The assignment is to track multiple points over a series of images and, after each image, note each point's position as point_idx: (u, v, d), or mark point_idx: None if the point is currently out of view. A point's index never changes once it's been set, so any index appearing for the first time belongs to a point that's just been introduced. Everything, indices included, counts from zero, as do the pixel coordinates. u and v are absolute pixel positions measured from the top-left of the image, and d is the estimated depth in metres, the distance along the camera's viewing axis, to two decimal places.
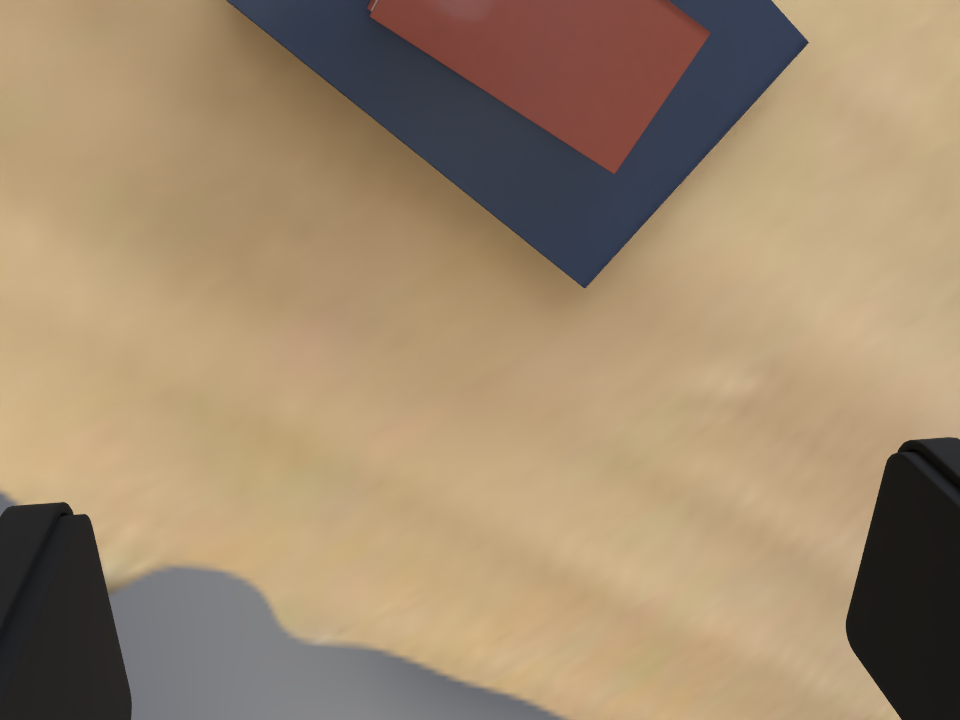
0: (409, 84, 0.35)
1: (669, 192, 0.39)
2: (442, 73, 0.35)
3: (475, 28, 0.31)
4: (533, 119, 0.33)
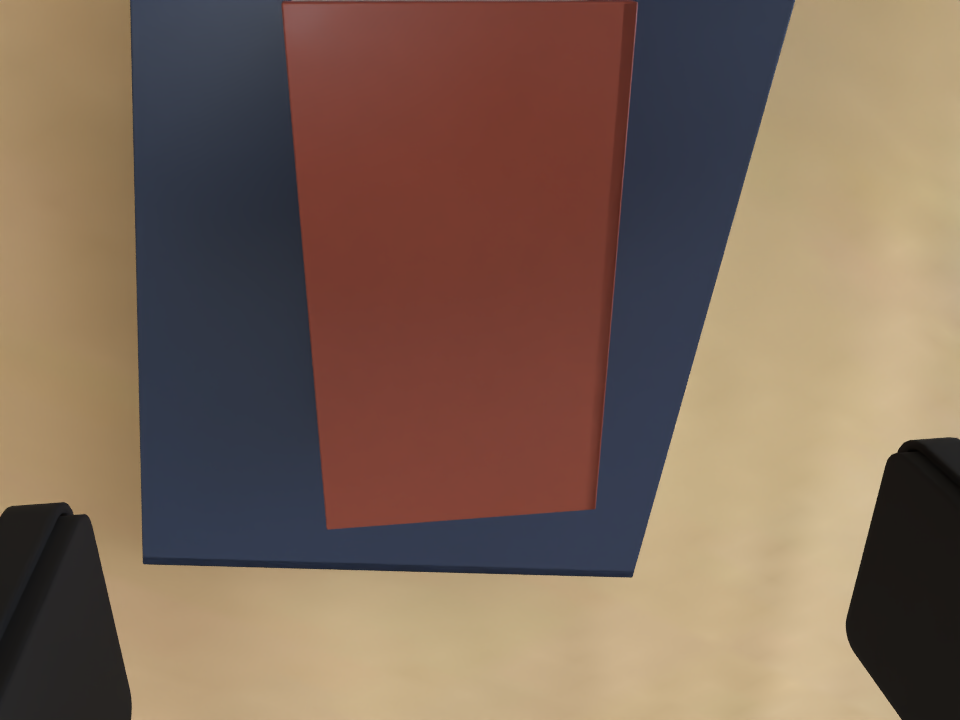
0: (228, 130, 0.19)
1: (354, 567, 0.25)
2: (283, 171, 0.20)
3: (387, 196, 0.16)
4: (317, 371, 0.18)
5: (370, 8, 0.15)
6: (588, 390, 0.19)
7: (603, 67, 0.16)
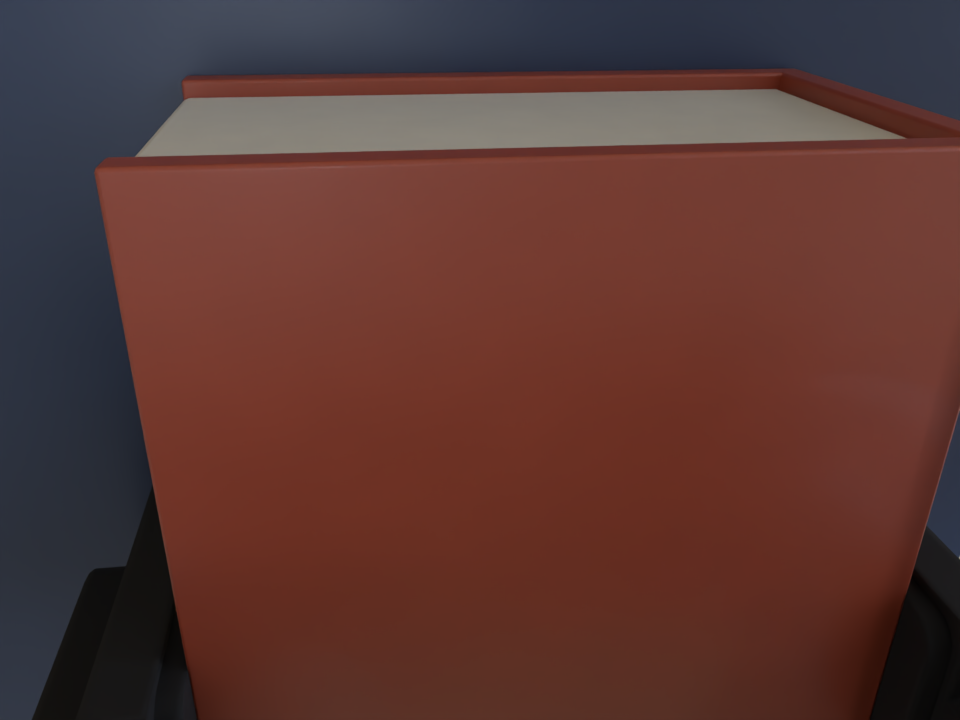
0: (67, 355, 0.09)
1: None
2: None
3: (390, 588, 0.07)
4: None
5: (346, 179, 0.05)
6: None
7: (926, 298, 0.06)
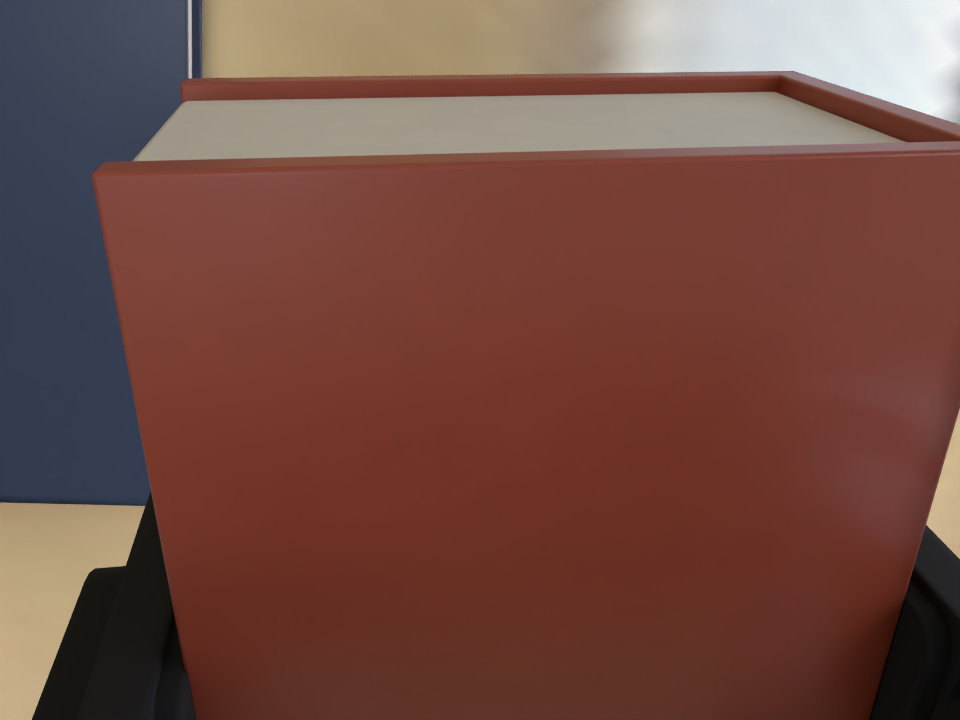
0: None
1: None
2: None
3: (389, 592, 0.07)
4: None
5: (344, 182, 0.05)
6: None
7: (924, 301, 0.06)
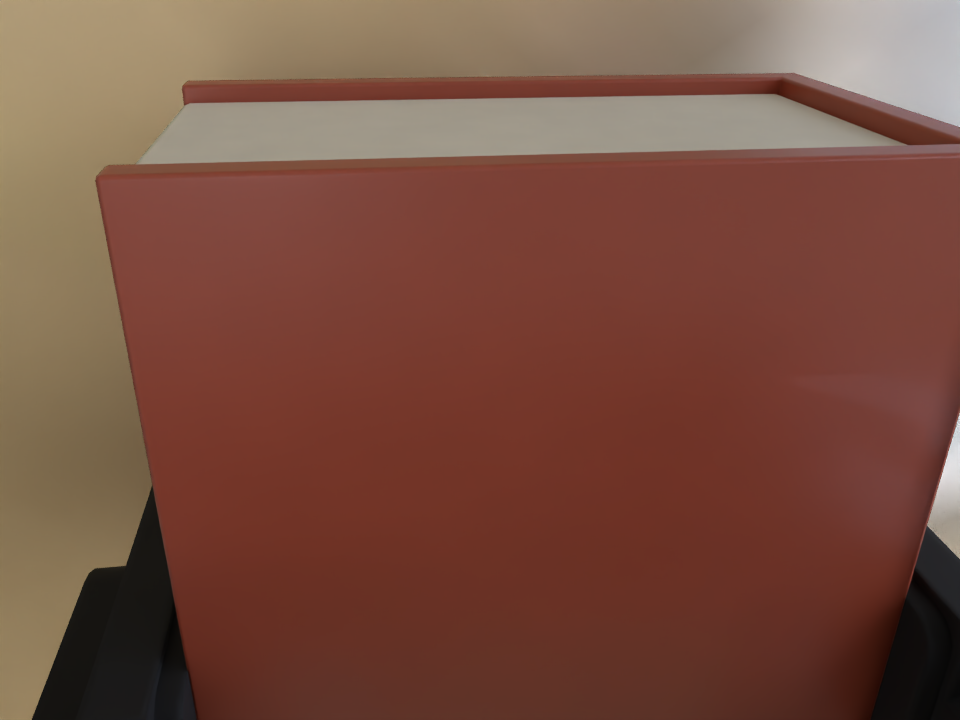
0: None
1: None
2: None
3: (391, 594, 0.07)
4: None
5: (348, 186, 0.05)
6: None
7: (925, 304, 0.06)
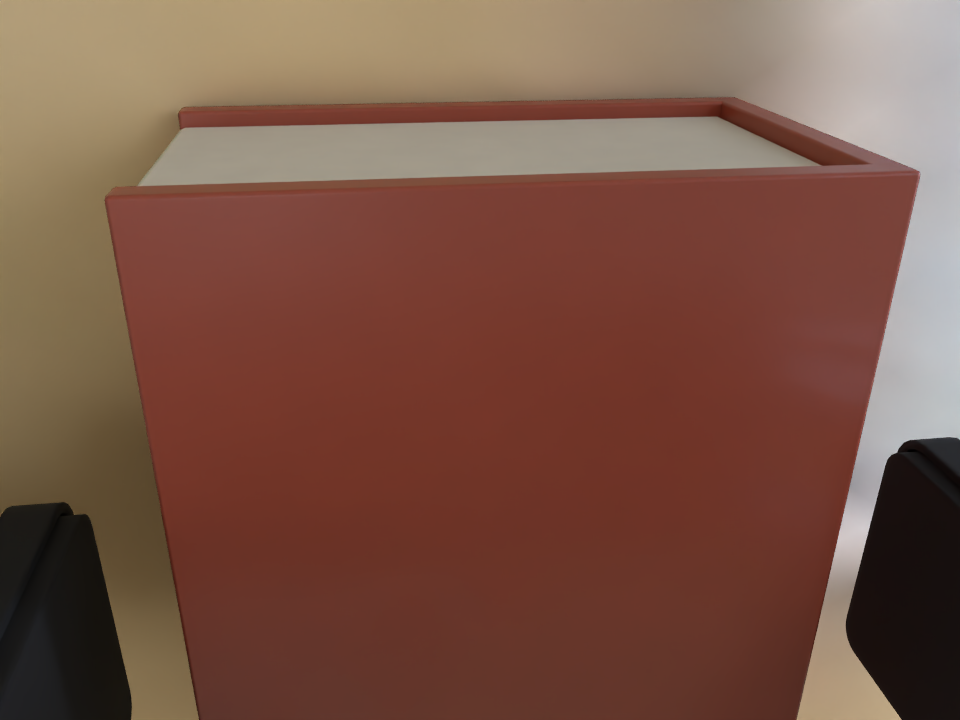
0: None
1: None
2: None
3: (365, 564, 0.08)
4: None
5: (320, 204, 0.06)
6: None
7: (832, 304, 0.07)
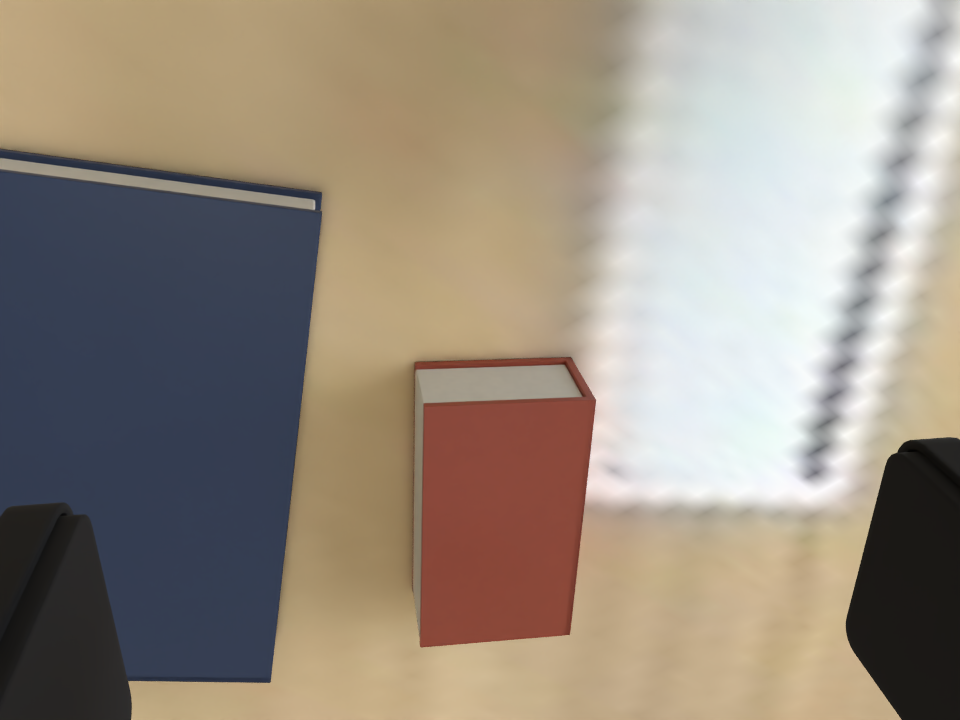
0: None
1: None
2: None
3: (467, 486, 0.32)
4: (423, 567, 0.33)
5: (466, 407, 0.31)
6: (567, 574, 0.35)
7: (578, 427, 0.32)
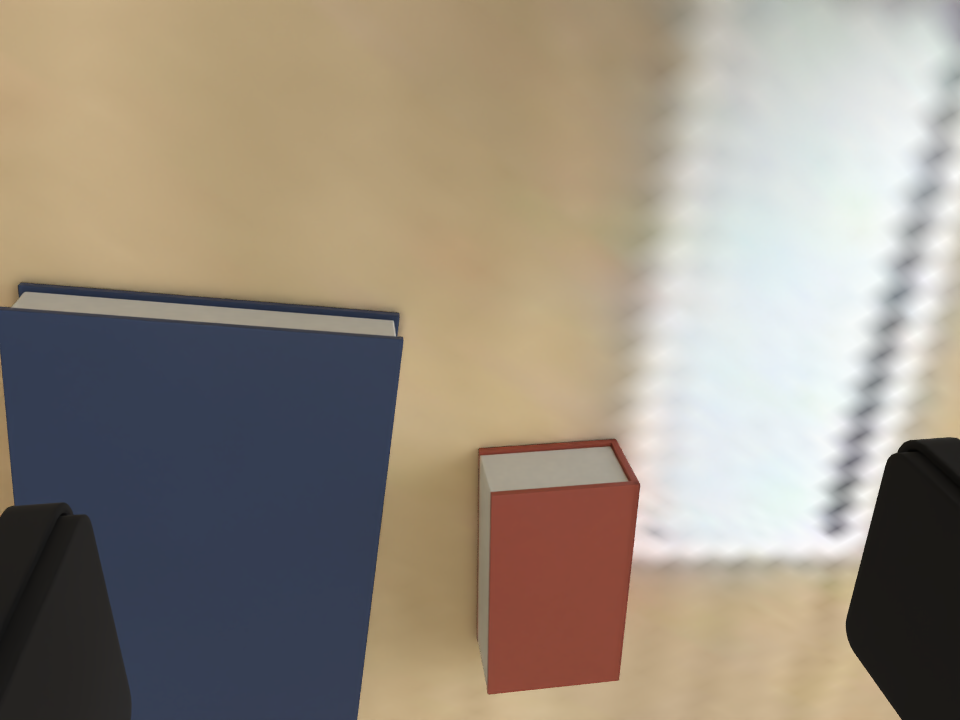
0: None
1: None
2: (103, 523, 0.34)
3: (528, 559, 0.37)
4: (490, 628, 0.38)
5: (527, 495, 0.35)
6: (616, 629, 0.39)
7: (625, 507, 0.36)
